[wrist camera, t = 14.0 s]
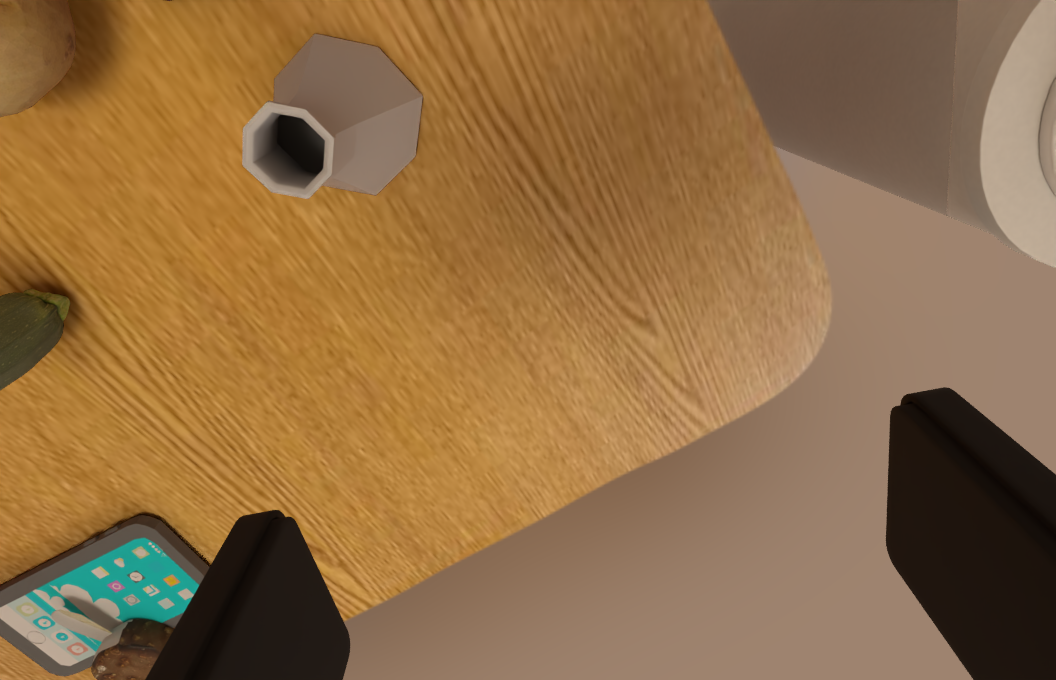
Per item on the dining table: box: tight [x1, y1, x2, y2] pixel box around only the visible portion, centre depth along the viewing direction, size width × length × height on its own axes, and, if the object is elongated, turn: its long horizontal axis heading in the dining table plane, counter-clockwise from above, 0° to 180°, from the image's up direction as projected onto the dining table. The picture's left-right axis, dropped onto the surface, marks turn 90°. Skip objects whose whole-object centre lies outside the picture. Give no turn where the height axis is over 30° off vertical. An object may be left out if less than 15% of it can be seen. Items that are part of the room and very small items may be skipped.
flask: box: [243, 34, 423, 199], centre depth 27 cm, size 7×7×10 cm
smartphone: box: [0, 515, 210, 676], centre depth 43 cm, size 9×1×15 cm
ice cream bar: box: [51, 610, 174, 680], centre depth 44 cm, size 5×4×15 cm
